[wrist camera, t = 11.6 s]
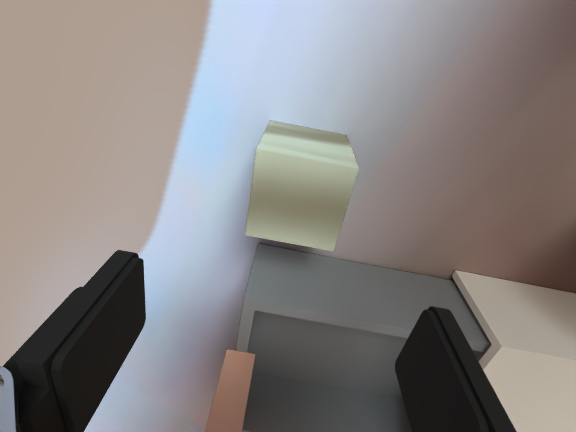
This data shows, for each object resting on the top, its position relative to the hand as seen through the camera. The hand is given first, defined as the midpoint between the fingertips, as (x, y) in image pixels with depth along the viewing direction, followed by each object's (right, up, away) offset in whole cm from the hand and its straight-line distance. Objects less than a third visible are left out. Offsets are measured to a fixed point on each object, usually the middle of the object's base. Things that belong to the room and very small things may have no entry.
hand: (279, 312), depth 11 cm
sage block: (+1, +7, +11) cm, 13 cm away
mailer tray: (+5, -7, +19) cm, 21 cm away
